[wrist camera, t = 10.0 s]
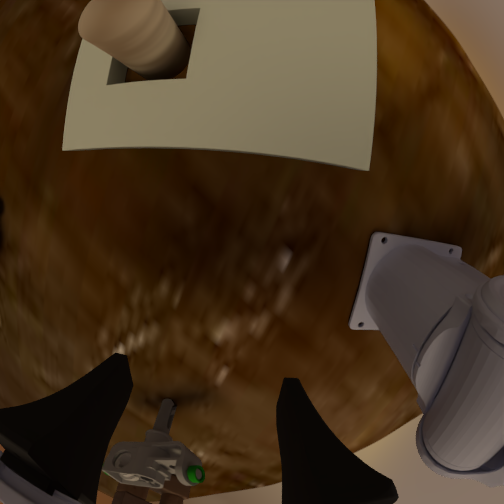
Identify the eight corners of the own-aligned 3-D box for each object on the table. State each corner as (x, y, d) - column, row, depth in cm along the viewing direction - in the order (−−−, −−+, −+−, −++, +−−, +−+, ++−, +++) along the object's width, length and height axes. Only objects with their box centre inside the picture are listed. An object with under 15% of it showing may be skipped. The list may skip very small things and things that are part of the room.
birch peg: (194, 32, 14) (160, -29, 6) (187, 79, 15) (143, 32, 8) (142, 38, 14) (90, -9, 6) (134, 84, 15) (70, 50, 8)
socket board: (362, 6, 13) (373, -8, 10) (354, 169, 17) (368, 170, 15) (114, -1, 12) (101, -13, 10) (81, 150, 17) (62, 150, 14)
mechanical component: (219, 405, 24) (207, 490, 15) (141, 415, 25) (115, 483, 16) (205, 386, 23) (187, 476, 14) (126, 398, 25) (94, 468, 15)
